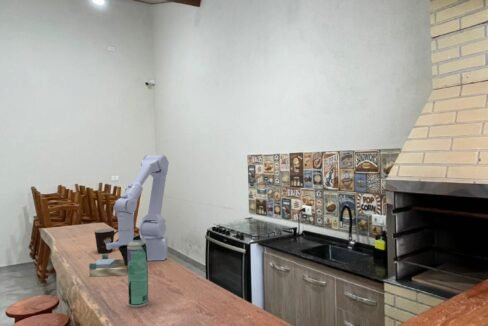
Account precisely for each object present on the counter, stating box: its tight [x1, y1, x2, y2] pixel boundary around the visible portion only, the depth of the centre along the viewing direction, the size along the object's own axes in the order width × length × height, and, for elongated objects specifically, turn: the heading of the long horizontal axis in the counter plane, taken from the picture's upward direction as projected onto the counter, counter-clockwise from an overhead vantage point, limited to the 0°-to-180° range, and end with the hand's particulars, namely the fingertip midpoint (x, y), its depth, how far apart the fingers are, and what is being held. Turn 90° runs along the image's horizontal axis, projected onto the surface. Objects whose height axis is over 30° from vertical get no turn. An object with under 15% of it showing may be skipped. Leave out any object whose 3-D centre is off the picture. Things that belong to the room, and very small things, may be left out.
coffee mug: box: [94, 228, 119, 255], centre depth 164 cm, size 12×9×10 cm
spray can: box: [127, 233, 149, 309], centre depth 102 cm, size 6×6×20 cm
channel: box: [88, 253, 128, 278], centre depth 135 cm, size 13×13×4 cm
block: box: [93, 258, 117, 269], centre depth 136 cm, size 7×7×4 cm
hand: (127, 264), depth 135 cm, fingers closed
